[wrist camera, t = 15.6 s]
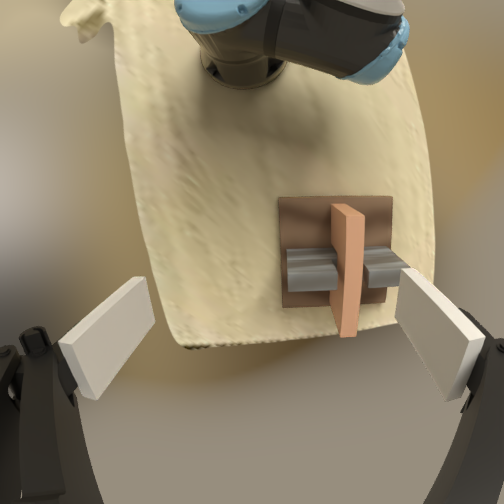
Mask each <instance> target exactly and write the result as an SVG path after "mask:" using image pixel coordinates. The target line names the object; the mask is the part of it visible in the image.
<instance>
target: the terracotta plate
mask: <svg viewBox="0 0 504 504" xmlns="http://www.w3.org/2000/svg"><path fill="white" fill-rule="evenodd" d="M364 233H365V215H363V214H361V213H360V212H358V211H357V210H355V209H353V208H352V207H350V206H348V205H347V204H331V244H332V245H333V247H334V248H335V250H336V252H337V272H338V283H337V290H330V299H329V302H330V306H331V309H332V312H333V315H334V319H335V322H336V325H337V328H338V332H339V335H340V337H355V336H356V334H357V326H358V317H359V308H360V298H361V287H362V273H363V257H364Z"/></svg>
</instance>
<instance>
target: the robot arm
mask: <svg viewBox="0 0 504 504" xmlns="http://www.w3.org/2000/svg"><path fill="white" fill-rule="evenodd" d="M174 5H175V10H176V12H177V14H178V16H179V17H180V20H181V23H182V24H183V26H184V27H185V28H186V29H187V30H188V31H189V32H190V34H191V35H192V36H193V37H194V38H195V40H196V41H197V42H198V43H199V45H200V46H201V49H200V56H201V61H202V64H203V66H204V68H205V70H206V71H207V72H208V73H209V75H210V76H211V77H212V78H213V79H214V80H215V81H217V82H218V83H220V84H222V85H224V86H227V87H230V88H234V89H252V88H256V87H260V86H263V85H265V84H267V83H269V82H270V81H272V80H273V79H275V78H276V77H277V76H278V75H279V74H280V73H281V72H282V70H283V69H284V67H285V65H286V63H287V62H291V63H295V64H298V65H302V66H305V67H309V68H312V69H315V70H318V71H321V72H324V73H327V74H330V75H333V76H335V77H336V78H338V79H342V80H349V81H352V82H355V83H358V84H361V85H373V84H375V83H378V82H379V81H381V80H382V79H383V78H385V77H386V76H387V75H388V74H389V72H390V71H391V70H392V69H393V68H394V66H395V65H396V63H397V62H398V60H399V59H400V57H401V55H402V49H403V48H404V46H405V45H406V43H407V40H408V37H409V30H410V29H409V24H408V21H407V20H406V19H405V18H404V17H403V16H402V14H403V13H404V11H405V7H404V4H403V2H402V1H401V0H174ZM395 318H396V320H397V321H398V323H399V325H400V326H401V328H402V329H403V331H404V332H405V334H406V336H407V337H408V339H409V340H410V342H411V344H412V345H413V347H414V349H415V350H416V352H417V353H418V355H419V357H420V358H421V360H422V362H423V363H424V365H425V367H426V369H427V370H428V372H429V374H430V376H431V377H432V379H433V381H434V383H435V384H436V386H437V388H438V390H439V392H440V394H441V395H442V397H443V399H444V401H445V402H447V401H451V400H454V399H457V398H461V396H462V394H463V392H464V390H465V387H466V385H467V387H468V388H469V390H470V391H471V392H470V395H469V396H468V398H467V400H466V402H465V404H464V406H463V408H462V410H461V412H460V413H463V414H462V417H461V420H460V423H459V426H458V429H457V432H456V435H455V437H454V440H453V442H452V445H451V447H450V450H449V452H448V455H447V457H446V459H445V461H444V464H443V466H442V468H441V470H440V473H439V474H438V477H437V478H436V481H435V483H434V484H433V487H432V488H431V491H430V492H429V494H428V496H427V498H426V499H425V501H424V503H423V504H497V500H498V498H499V495H500V491H501V488H502V485H503V481H504V339H502V338H499V339H494V338H493V337H492V336H491V334H490V333H489V332H488V331H486V329H485V328H484V327H482V325H480V324H479V322H477V320H475V318H474V317H473V316H472V315H471V314H470V313H468V312H466V311H465V310H463V309H461V308H457V307H456V306H455V305H454V304H453V303H452V302H451V301H450V300H449V299H448V298H447V297H446V296H444V295H443V294H442V293H441V292H440V291H439V290H438V289H437V288H436V287H435V286H434V285H433V284H432V283H430V282H429V281H428V280H427V279H426V278H425V277H424V276H423V275H422V274H420V273H419V272H418V271H417V270H416V269H415V268H403V269H401V274H400V283H399V291H398V298H397V305H396V311H395ZM154 323H155V318H154V314H153V310H152V305H151V301H150V296H149V292H148V287H147V282H146V277H132V278H131V279H130V280H129V281H127V282H126V283H125V284H124V285H123V286H121V287H120V288H119V289H118V290H117V291H115V292H114V293H113V294H112V295H111V296H109V297H108V298H107V299H106V300H105V301H103V302H102V303H101V304H100V305H99V306H98V307H96V308H95V309H94V310H93V311H92V312H91V313H89V314H88V315H87V316H86V317H85V318H84V319H83V320H81V321H79V322H78V323H77V324H76V325H74V327H73V328H71V329H70V330H69V331H68V333H65V334H64V335H63V336H62V337H61V338H60V339H59V340H58V341H57V342H55V343H54V344H53V345H51V342H50V340H49V337H48V335H47V332H46V330H45V328H44V327H40V326H37V327H32V328H29V329H27V330H25V331H24V332H23V333H21V334H20V336H19V340H20V343H21V345H22V347H23V349H24V352H25V354H26V355H25V356H23V355H19V353H18V351H17V349H16V347H15V346H14V345H8V346H6V345H5V346H3V347H1V348H0V504H104V503H103V500H102V497H101V494H100V491H99V489H98V485H97V482H96V479H95V476H94V473H93V469H92V466H91V462H90V459H89V455H88V451H87V447H86V443H85V438H84V434H83V429H82V425H81V419H80V414H79V409H78V402H77V397H76V395H75V394H74V390H75V389H76V388H77V386H78V388H79V389H80V391H81V393H82V395H83V397H86V398H89V399H93V400H96V401H97V400H98V399H99V398H100V396H101V395H102V393H103V392H104V391H105V389H106V388H107V386H108V385H109V384H110V382H111V381H112V379H113V378H114V377H115V375H116V374H117V373H118V371H119V370H120V369H121V367H122V366H123V364H124V363H125V362H126V360H127V359H128V358H129V356H130V355H131V354H132V352H133V351H134V350H135V348H136V347H137V346H138V344H139V343H140V341H141V340H142V339H143V338H144V336H145V335H146V334H147V332H148V331H149V330H150V328H151V327H152V326H153V325H154ZM8 387H9V388H10V389H11V391H12V393H13V395H14V396H13V398H11V397H10V396H9V394H8ZM21 489H22V498H20V497H21Z"/></svg>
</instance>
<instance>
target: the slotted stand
mask: <svg viewBox="0 0 504 504" xmlns="http://www.w3.org/2000/svg"><path fill="white" fill-rule="evenodd" d="M331 204H347V205H348V206H350V207H352V208H353V209H355V210H357V211H358V212H360V213H361V214H363V215H365V233H364V257H363V273H362V287H361V298H360V304H371V303H384V302H385V300H386V292H387V287H395V286H399V283H400V274H401V269H403V268H411V267H410V266H409V265H407V264H406V263H405V262H404V261H403V260H402V259H401V258H399V257H398V256H397V255H396V254H395V253H394V252H392V251H391V235H392V208H393V197H391V196H310V197H280V198H279V218H280V241H281V269H282V303H283V308H292V307H319V306H330V302H329V299H330V290H337V283H338V272H337V252H336V250H335V248H334V247H333V245H332V244H331Z"/></svg>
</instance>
